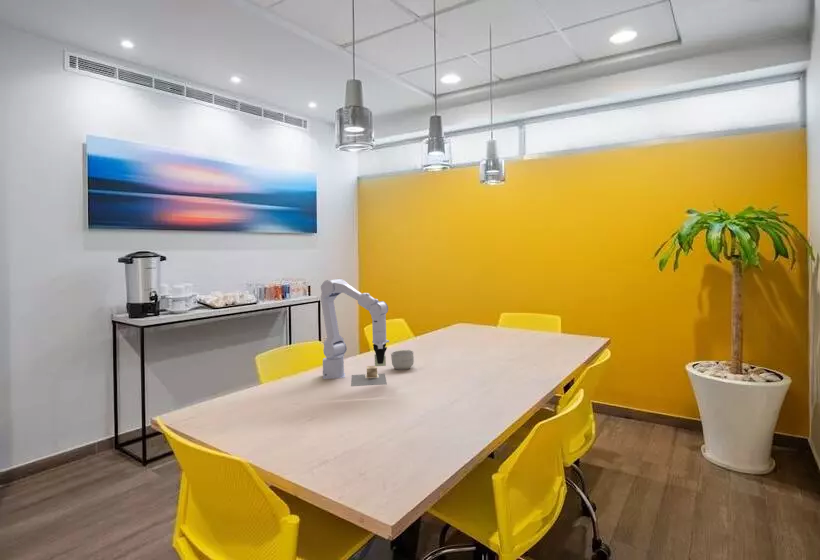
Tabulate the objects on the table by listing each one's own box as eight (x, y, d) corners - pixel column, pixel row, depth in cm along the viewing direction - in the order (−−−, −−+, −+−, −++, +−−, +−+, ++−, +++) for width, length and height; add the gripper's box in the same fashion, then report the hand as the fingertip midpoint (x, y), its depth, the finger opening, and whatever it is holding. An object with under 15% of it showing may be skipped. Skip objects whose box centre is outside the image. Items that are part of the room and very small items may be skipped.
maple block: (367, 377, 209) (366, 368, 209) (366, 374, 214) (366, 366, 213) (377, 377, 210) (377, 368, 209) (376, 374, 214) (376, 365, 214)
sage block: (375, 366, 199) (374, 356, 198) (374, 363, 203) (374, 354, 203) (385, 365, 199) (385, 356, 199) (385, 363, 204) (385, 354, 203)
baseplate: (351, 387, 197) (351, 385, 197) (351, 376, 214) (351, 374, 214) (386, 385, 199) (386, 383, 199) (384, 374, 216) (384, 373, 216)
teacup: (404, 372, 218) (404, 355, 217) (386, 369, 225) (386, 352, 224) (422, 366, 229) (421, 350, 229) (404, 363, 236) (404, 347, 235)
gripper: (389, 333, 193) (390, 365, 194) (387, 327, 208) (388, 357, 209) (372, 333, 193) (373, 366, 194) (371, 327, 207) (372, 358, 208)
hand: (380, 362), depth 201 cm, fingers closed on sage block, 4 cm apart
